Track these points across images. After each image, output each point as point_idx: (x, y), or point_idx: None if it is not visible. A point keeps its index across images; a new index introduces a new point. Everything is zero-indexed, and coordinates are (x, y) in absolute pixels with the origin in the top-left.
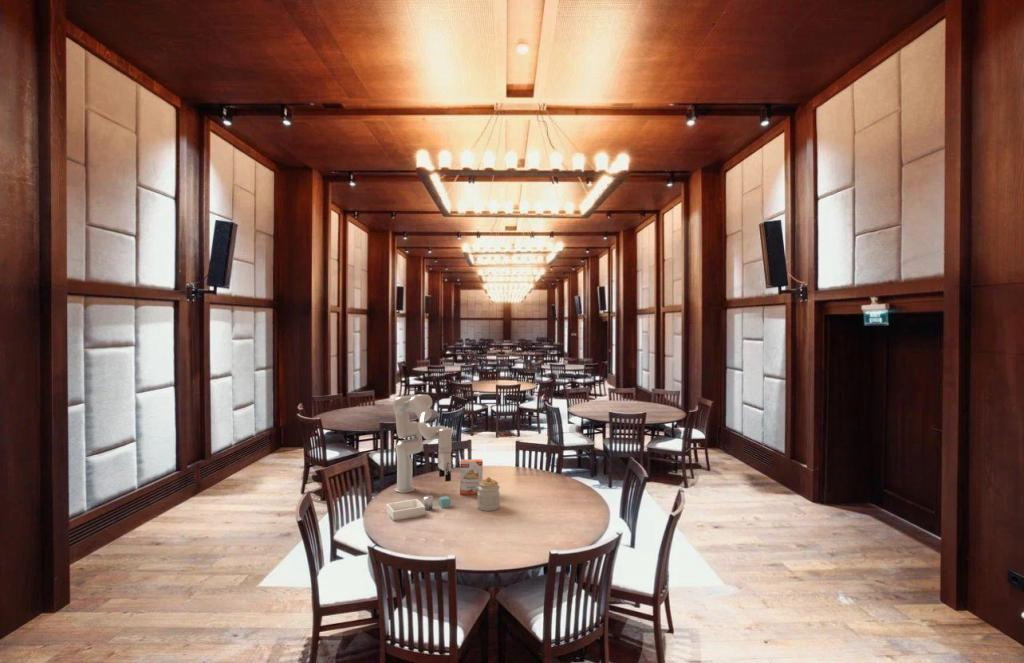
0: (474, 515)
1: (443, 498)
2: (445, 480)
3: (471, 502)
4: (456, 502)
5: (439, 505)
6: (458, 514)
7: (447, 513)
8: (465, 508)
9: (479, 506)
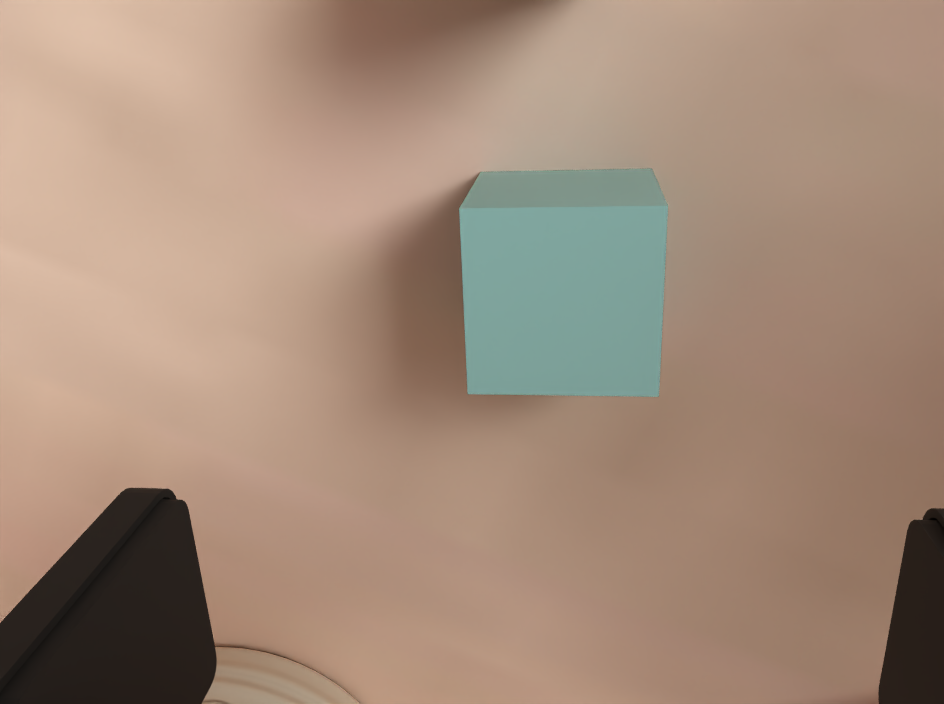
0: (6, 501)
1: (534, 268)
2: (126, 500)
3: (534, 675)
4: (648, 498)
5: (625, 170)
6: (99, 319)
7: (192, 170)
8: (320, 508)
9: None
